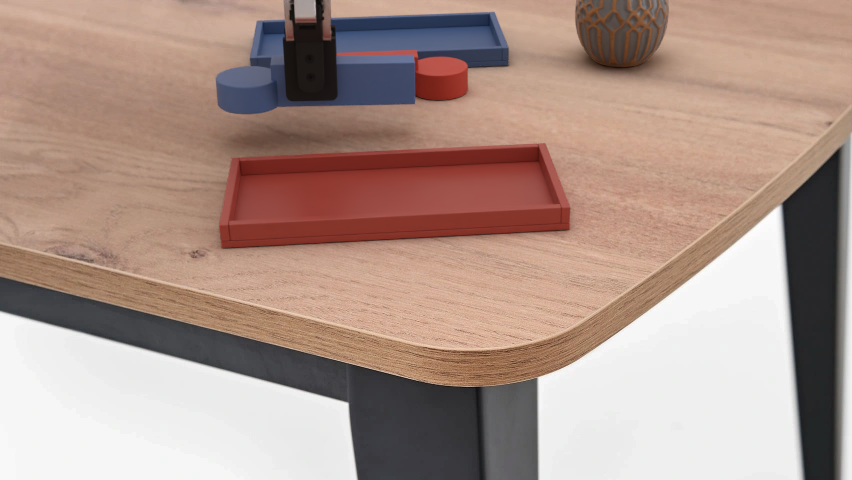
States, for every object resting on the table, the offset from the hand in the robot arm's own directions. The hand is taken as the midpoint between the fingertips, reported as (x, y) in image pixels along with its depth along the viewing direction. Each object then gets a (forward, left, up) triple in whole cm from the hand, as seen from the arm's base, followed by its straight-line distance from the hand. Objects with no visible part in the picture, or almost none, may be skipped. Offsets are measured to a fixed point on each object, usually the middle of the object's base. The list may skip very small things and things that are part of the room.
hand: (312, 91), depth 77 cm
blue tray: (+5, +17, -3) cm, 17 cm away
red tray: (+5, -10, -3) cm, 12 cm away
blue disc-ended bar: (0, 0, -1) cm, 1 cm away
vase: (+23, +13, -3) cm, 26 cm away
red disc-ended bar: (+4, +8, -3) cm, 9 cm away
